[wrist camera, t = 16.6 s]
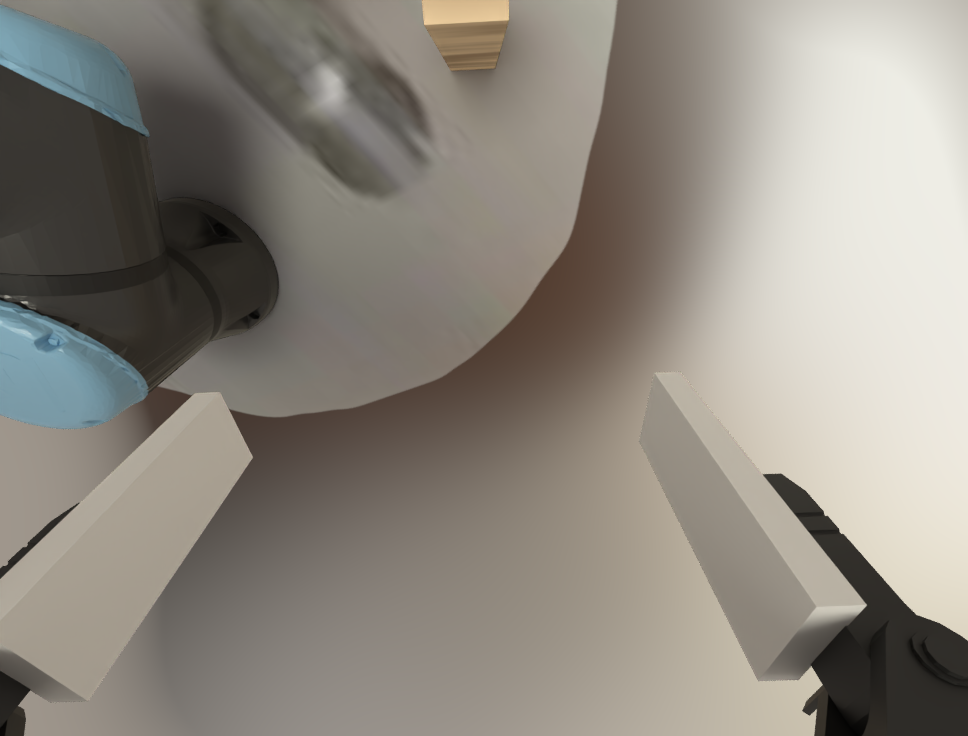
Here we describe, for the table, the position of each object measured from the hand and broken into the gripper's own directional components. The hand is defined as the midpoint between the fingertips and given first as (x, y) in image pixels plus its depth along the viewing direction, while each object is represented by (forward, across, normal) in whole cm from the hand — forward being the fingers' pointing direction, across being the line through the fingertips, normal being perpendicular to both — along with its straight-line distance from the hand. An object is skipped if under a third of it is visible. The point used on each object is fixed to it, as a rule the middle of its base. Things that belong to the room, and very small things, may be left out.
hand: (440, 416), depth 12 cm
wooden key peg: (+35, +1, +14) cm, 37 cm away
